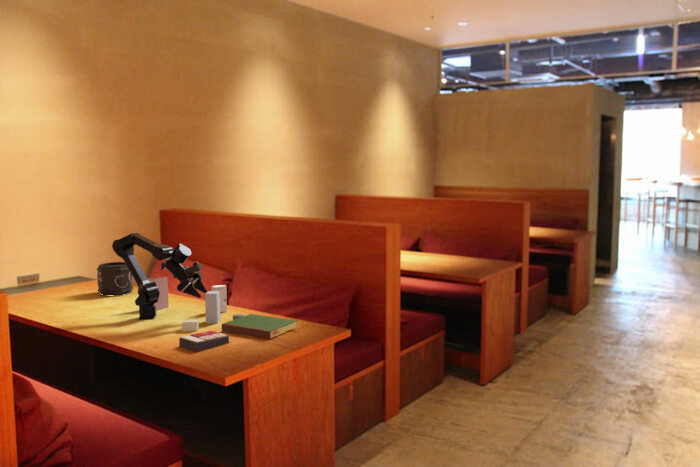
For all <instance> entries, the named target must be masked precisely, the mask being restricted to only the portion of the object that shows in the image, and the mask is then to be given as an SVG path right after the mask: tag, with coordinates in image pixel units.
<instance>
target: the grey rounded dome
mask: <svg viewBox="0 0 700 467" xmlns="http://www.w3.org/2000/svg"><path fill="white" fill-rule="evenodd" d="M243 316H246V315H245V314H242V313H240V314H239V313H238V314H237V313H236V314H233V315H232V320H235V319H237V318H240V317H243Z"/></svg>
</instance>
